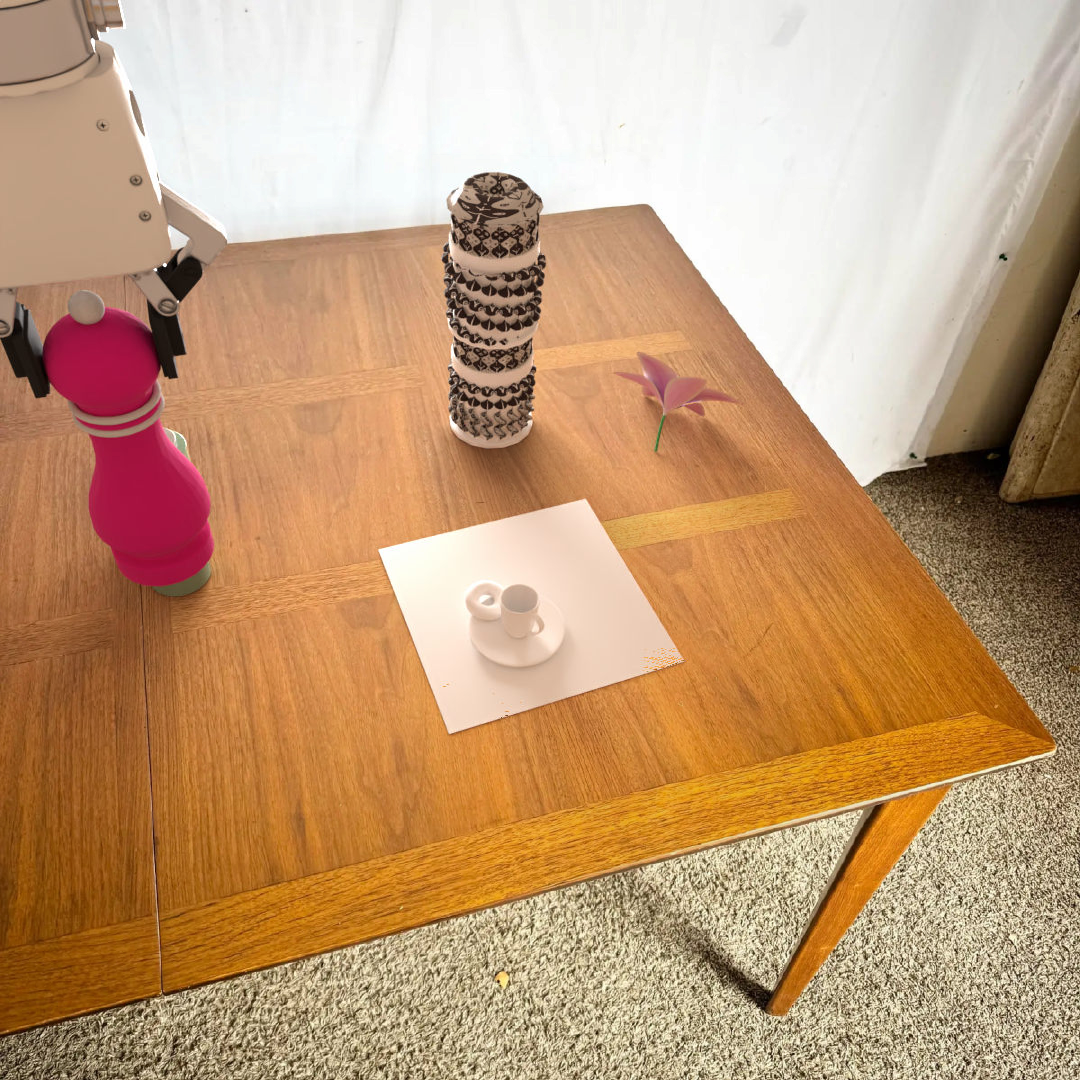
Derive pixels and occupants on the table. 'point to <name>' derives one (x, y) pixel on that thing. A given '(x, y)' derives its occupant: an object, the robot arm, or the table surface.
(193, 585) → the shaker mid
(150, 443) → the pepper mill
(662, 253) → the table surface
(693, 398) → the lily
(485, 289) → the patterned beaded cylinder
